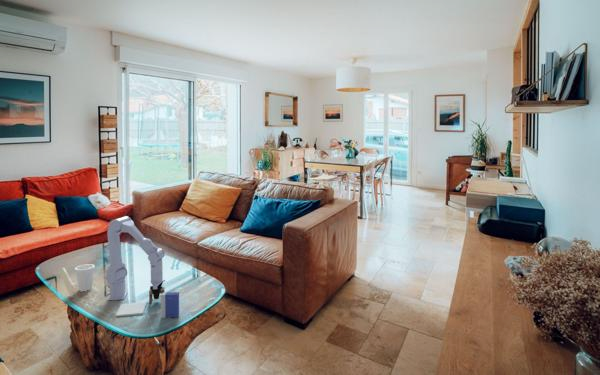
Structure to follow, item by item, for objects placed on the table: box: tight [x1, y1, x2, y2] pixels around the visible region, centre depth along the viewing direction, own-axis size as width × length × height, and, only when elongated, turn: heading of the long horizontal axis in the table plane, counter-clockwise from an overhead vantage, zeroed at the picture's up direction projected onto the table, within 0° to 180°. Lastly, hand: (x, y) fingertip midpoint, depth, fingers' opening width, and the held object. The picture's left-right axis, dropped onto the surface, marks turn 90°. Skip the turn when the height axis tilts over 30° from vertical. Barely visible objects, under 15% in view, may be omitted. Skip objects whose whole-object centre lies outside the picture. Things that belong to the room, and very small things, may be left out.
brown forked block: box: [148, 286, 165, 305], centre depth 182 cm, size 4×7×7 cm, turn 106°
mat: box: [115, 301, 148, 318], centre depth 173 cm, size 12×12×1 cm
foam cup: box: [74, 263, 96, 292], centre depth 193 cm, size 10×9×13 cm
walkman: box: [160, 291, 180, 319], centre depth 167 cm, size 8×3×12 cm, turn 96°
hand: (157, 296), depth 182 cm, fingers closed on brown forked block, 4 cm apart
